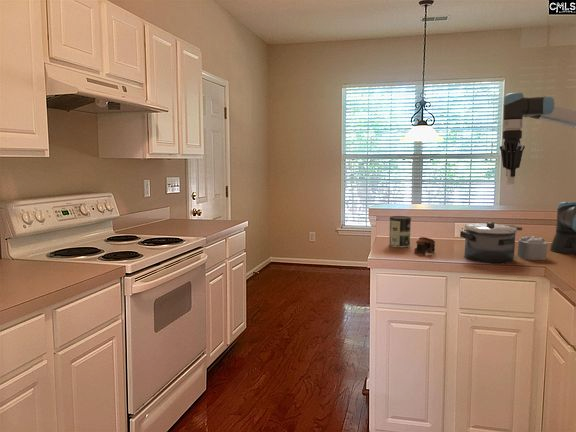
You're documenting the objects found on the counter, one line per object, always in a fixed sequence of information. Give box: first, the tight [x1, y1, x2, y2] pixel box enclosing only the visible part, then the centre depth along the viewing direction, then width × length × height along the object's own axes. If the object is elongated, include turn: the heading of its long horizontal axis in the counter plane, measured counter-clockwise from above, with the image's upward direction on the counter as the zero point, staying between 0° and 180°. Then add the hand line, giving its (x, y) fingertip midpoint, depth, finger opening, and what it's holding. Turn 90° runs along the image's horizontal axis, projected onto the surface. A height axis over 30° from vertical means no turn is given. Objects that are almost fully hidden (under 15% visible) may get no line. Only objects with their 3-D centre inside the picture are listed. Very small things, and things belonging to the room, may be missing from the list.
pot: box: [459, 230, 516, 265], centre depth 210 cm, size 22×25×12 cm
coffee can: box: [388, 215, 412, 248], centre depth 237 cm, size 10×10×14 cm
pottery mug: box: [413, 236, 436, 256], centre depth 221 cm, size 12×10×8 cm
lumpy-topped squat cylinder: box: [517, 235, 548, 261], centre depth 214 cm, size 10×13×9 cm
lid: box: [464, 221, 523, 235], centre depth 209 cm, size 24×21×3 cm
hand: (510, 184), depth 212 cm, fingers closed
